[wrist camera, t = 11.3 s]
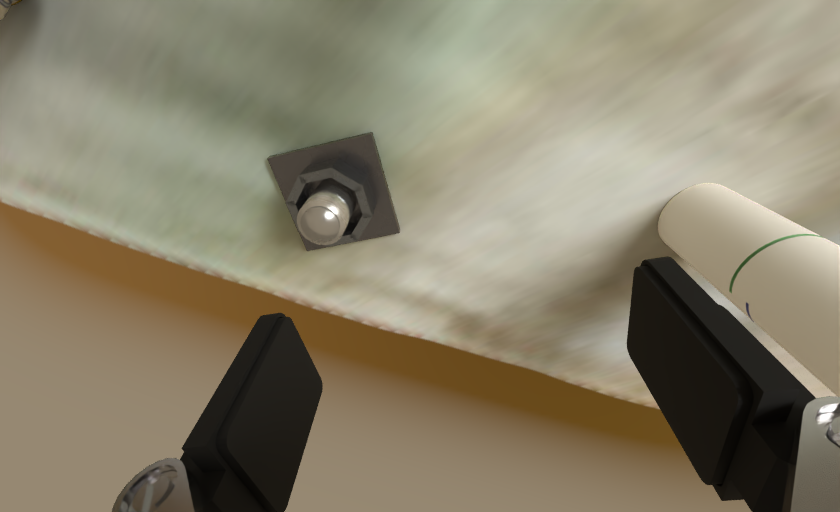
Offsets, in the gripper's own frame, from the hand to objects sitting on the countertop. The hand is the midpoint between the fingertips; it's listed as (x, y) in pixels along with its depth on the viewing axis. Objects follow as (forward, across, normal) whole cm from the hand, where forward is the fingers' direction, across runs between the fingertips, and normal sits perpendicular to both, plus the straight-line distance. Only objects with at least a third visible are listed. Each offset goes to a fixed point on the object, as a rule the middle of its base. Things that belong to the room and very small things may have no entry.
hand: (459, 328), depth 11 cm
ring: (+26, +11, +5) cm, 29 cm away
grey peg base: (+27, +11, +5) cm, 30 cm away
